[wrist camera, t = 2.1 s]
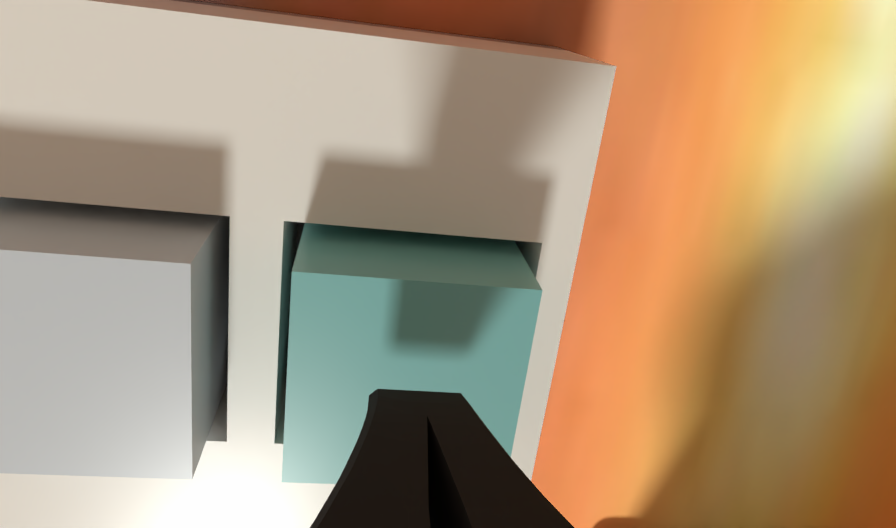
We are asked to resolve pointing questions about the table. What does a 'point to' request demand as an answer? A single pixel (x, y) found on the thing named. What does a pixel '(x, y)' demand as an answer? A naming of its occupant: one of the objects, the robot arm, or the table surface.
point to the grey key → (110, 338)
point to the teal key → (400, 334)
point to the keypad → (288, 191)
